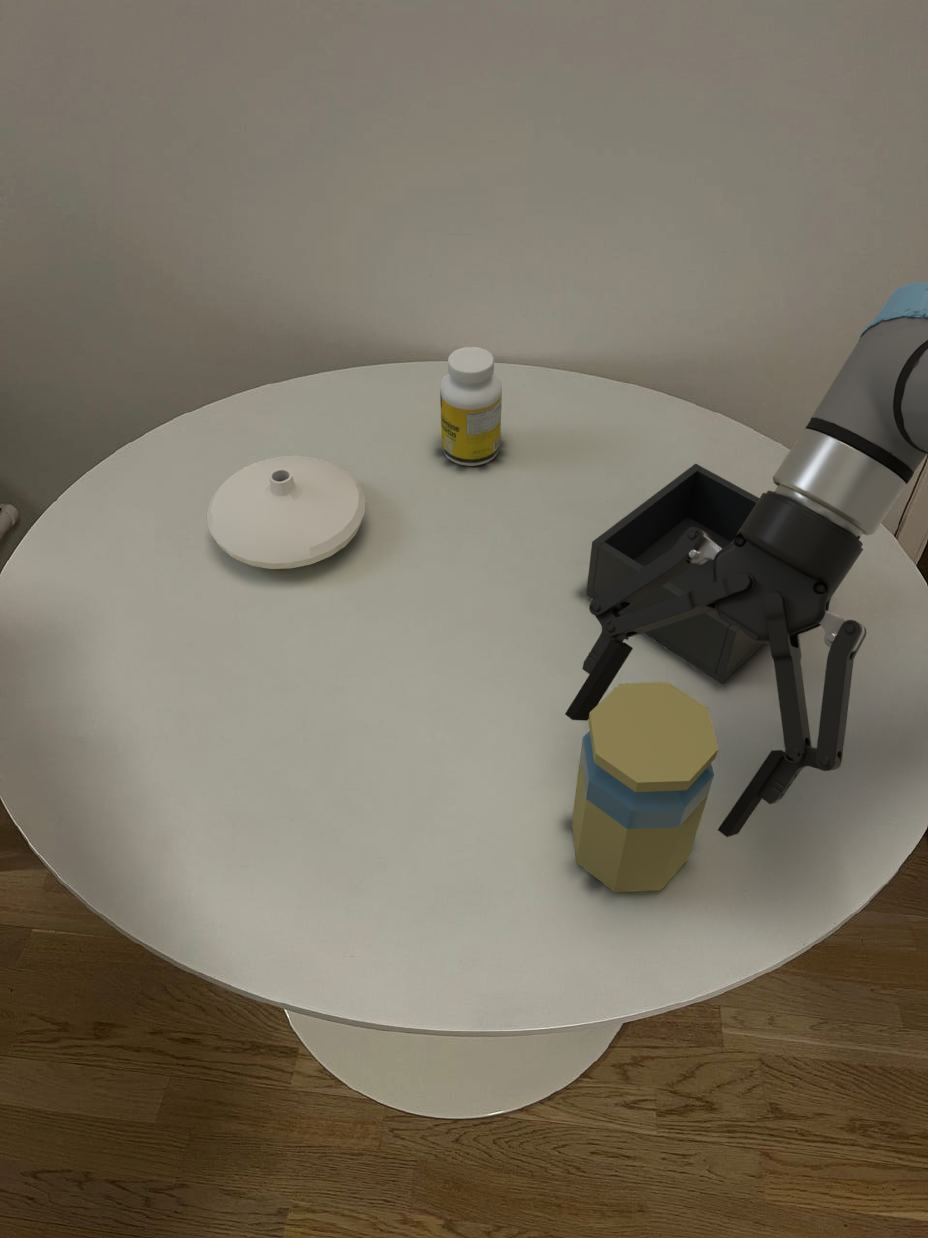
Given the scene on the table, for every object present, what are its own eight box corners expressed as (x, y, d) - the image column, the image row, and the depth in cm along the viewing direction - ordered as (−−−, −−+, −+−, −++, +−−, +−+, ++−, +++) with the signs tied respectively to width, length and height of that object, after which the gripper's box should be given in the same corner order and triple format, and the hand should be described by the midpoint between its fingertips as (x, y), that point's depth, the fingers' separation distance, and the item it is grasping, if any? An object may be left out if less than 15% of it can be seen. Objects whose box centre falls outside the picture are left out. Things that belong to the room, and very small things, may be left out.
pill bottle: (443, 431, 113) (440, 340, 104) (500, 432, 113) (502, 341, 104) (440, 468, 108) (437, 376, 100) (500, 469, 108) (502, 377, 100)
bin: (818, 592, 95) (837, 540, 90) (721, 683, 88) (736, 632, 83) (685, 515, 103) (695, 462, 98) (585, 593, 96) (591, 541, 91)
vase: (182, 562, 99) (166, 508, 94) (259, 466, 109) (248, 412, 104) (326, 602, 95) (317, 548, 90) (392, 499, 105) (388, 445, 100)
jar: (673, 916, 74) (708, 807, 63) (554, 877, 76) (566, 765, 65) (699, 814, 79) (734, 697, 68) (586, 780, 82) (603, 662, 70)
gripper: (999, 616, 64) (812, 879, 69) (684, 445, 76) (542, 678, 81) (991, 603, 58) (786, 894, 62) (650, 418, 70) (497, 672, 74)
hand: (648, 772), depth 71 cm, fingers open, 13 cm apart
